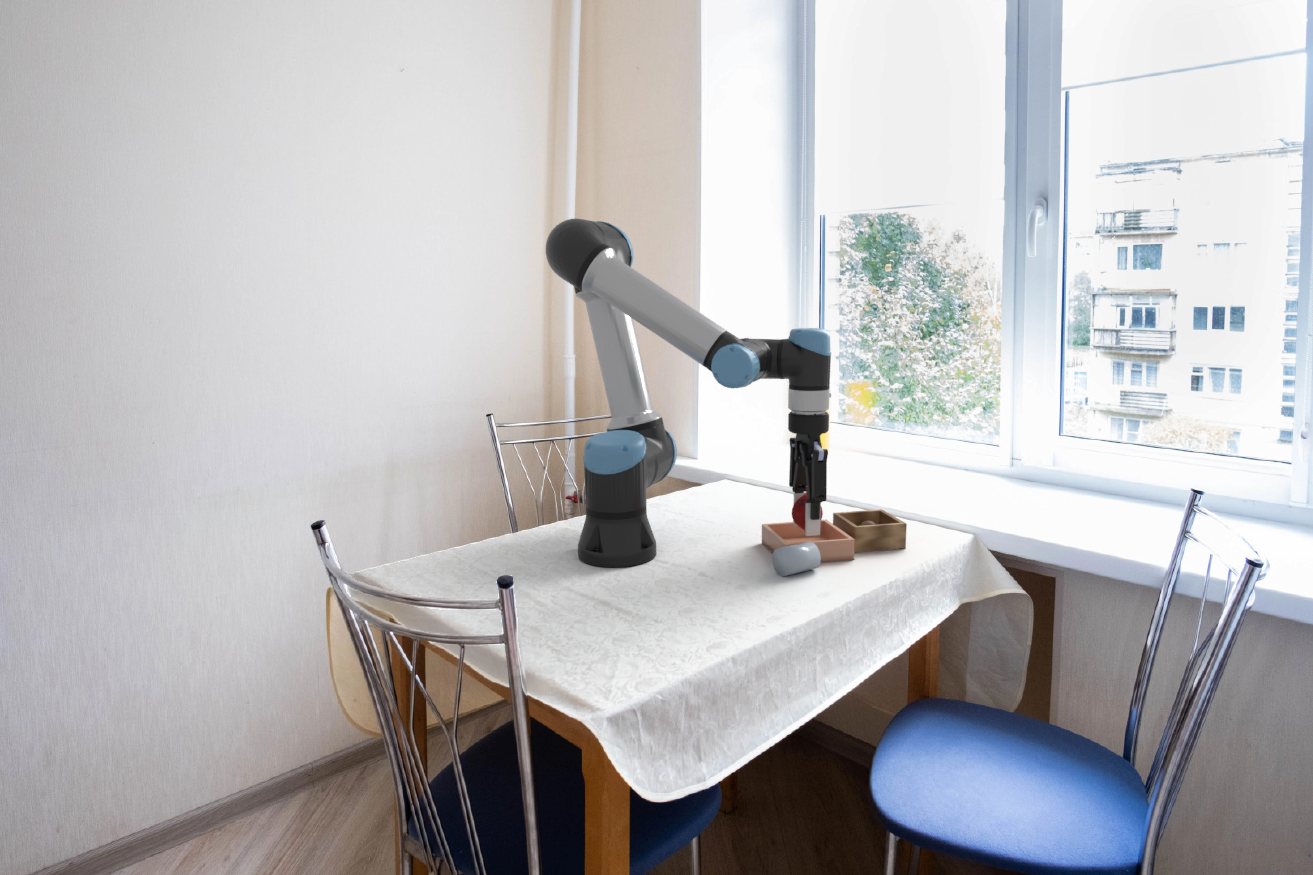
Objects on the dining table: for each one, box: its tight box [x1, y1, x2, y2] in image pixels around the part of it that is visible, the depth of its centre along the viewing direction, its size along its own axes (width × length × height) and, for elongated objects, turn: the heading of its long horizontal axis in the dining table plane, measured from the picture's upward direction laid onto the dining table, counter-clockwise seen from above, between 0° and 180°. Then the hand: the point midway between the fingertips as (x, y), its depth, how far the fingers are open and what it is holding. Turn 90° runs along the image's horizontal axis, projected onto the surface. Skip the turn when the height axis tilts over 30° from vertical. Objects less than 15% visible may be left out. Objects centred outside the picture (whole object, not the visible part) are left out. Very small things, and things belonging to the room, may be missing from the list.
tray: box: [761, 519, 855, 564], centre depth 158 cm, size 14×14×4 cm
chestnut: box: [860, 521, 876, 526], centre depth 163 cm, size 4×4×4 cm
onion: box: [791, 491, 824, 531], centre depth 157 cm, size 6×6×8 cm
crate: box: [832, 508, 908, 553], centre depth 163 cm, size 11×11×5 cm
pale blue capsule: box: [771, 541, 821, 577], centre depth 147 cm, size 7×5×5 cm
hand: (806, 529), depth 158 cm, fingers closed on onion, 6 cm apart
